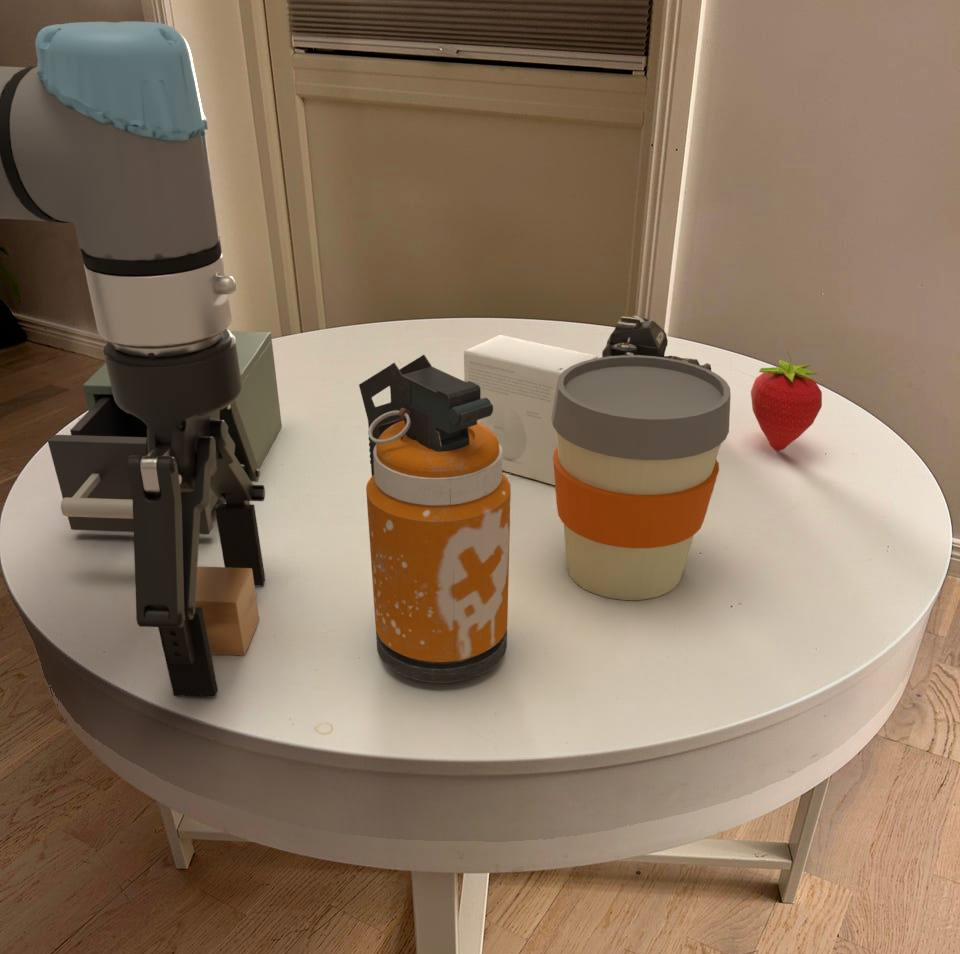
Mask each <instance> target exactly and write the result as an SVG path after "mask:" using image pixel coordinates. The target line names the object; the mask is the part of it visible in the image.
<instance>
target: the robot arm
mask: <svg viewBox="0 0 960 954" xmlns="http://www.w3.org/2000/svg"><path fill="white" fill-rule="evenodd" d="M190 48H191V47H190V46H189V43H188V42H187V40H186V38H185V37H184V35H183V34H181V32H179V30H178V29H176V28H175V27H173V26H171V25H168V24H166V23H162V22H153V21H137V20H136V21H134V20H133V21H129V20H128V21H127V20H126V21H123V20H122V21H119V22H117V21H79V22H66V23H57V24H52V25H51V24H50V25H47V26H44V27H42V28H41V29H40V30H39V31H38V32H37V35H36V38H35V53H36V59H37V62H36V66H28V67H22V66H21V67H20V66H19V67H18V66H3V65H0V220H23V221H37V222H49V223H50V222H51V223H60V224H67V223H68V224H69V223H73V226H74V229H75V234H76V238H77V242H78V246H79V250H80V251H81V252H80V253H81V257H82V261H83V262H82V263H83V268H84V273H85V276H86V282H87V287H88V292H89V296H90V302H91V306H92V312H93V315H94V316H93V317H94V321H95V325H96V330H97V333H98V334H99V336H100V337H101V338H102V339H104V340H105V341H107V342H106V344H105V345H104V348H103V351H102V352H103V356H104V361H105V363H106V366H107V370H108V375H109V379H110V384H111V388H112V393H113V397H114V400H115V402H116V404H117V405H118V406H119V407H120V408H121V409H122V410H123V411H125V412H126V413H128V414H132V415H134V416H136V417H138V418H139V419H141V420H142V421H143V422H144V423H145V424H146V425H147V440H146V453H145V455H146V456H129V458H128V461H127V470H128V476H129V481H130V487H131V493H132V499H133V528H134V532H133V553H134V554H133V558H134V583H135V584H134V585H135V587H134V588H135V613H136V614H135V616H136V618H135V619H136V623H137V626H138V627H141V628H142V627H144V628H157V629H158V633H159V637H160V642H161V646H162V650H163V654H164V655H163V656H164V658H165V665H166V669H167V672H168V675H169V676H168V677H169V681H170V686H171V690H172V694H173V696H174V697H190V698H191V697H194V698H215V697H216V696H217V693H218V692H219V689H218V683H217V677H216V673H215V668H214V667H215V666H214V662H213V656H212V654H211V652H210V646H209V641H208V636H207V631H206V626H205V621H204V616H203V611H202V607H195V599H196V581H197V566H198V562H199V543H200V534H199V527H200V513H201V511H202V510H203V509H205V508H206V507H207V506H208V504H209V493H210V488H211V489H212V491H213V492H214V493H215V495H216V496H217V497H218V501H224V503H216V504H215V506H214V512H215V519H216V524H217V529H218V536H219V541H220V547H221V553H222V559H223V564H224V567H229V568H252V572H253V579H254V586H256V587H257V586H258V587H259V586H261V587H263V586H264V585H265V582H266V575H265V567H264V562H263V555H262V549H261V541H260V535H259V534H260V533H259V527H258V521H257V515H256V508H255V507H256V506H255V504H252V503H251V502H264V501H265V498H266V488H265V485H262V484H254V483H257V482H259V480H260V477H261V471H260V468H258V465H257V462H256V459H255V456H254V453H253V450H252V447H251V445H250V442H249V439H248V436H247V433H246V430H245V427H244V425H243V422H242V419H241V416H240V413H239V410H238V407H237V405H236V399H237V398H238V396H239V395H240V393H241V390H242V381H241V374H240V367H239V360H238V354H237V347H236V340H235V337H234V335H233V334H232V333H230V331H231V330H229V329H228V327H230V325H231V323H232V320H233V319H232V311H231V305H230V299H229V295H232V294H234V293H235V292H236V290H237V283H236V281H235V278H234V277H233V276H230V275H225V274H226V273H225V268H224V266H225V264H224V257H223V251H222V244H221V236H220V235H219V226H218V218H217V211H216V204H215V197H214V188H213V187H214V186H213V180H212V173H211V165H210V157H209V149H208V148H209V147H208V141H207V131H206V130H209V128H208V127H209V126H208V121H207V117H206V114H205V113H204V111H203V107H202V102H201V97H200V92H199V87H198V81H197V75H196V71H195V66H194V60H193V56H192V52H191V49H190ZM240 464H243V465H240ZM181 491H193V492H191V493H181Z"/></svg>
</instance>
